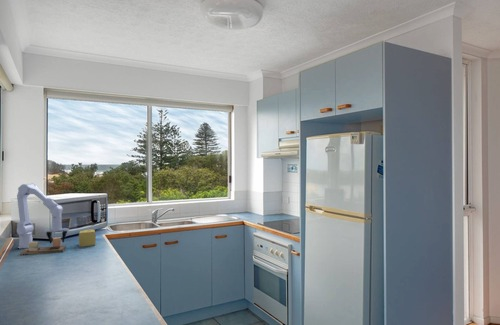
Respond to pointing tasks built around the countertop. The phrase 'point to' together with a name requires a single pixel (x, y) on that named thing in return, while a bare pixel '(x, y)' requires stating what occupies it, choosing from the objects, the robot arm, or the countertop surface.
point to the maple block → (33, 246)
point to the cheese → (87, 237)
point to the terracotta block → (57, 241)
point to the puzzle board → (44, 250)
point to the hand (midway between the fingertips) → (57, 242)
